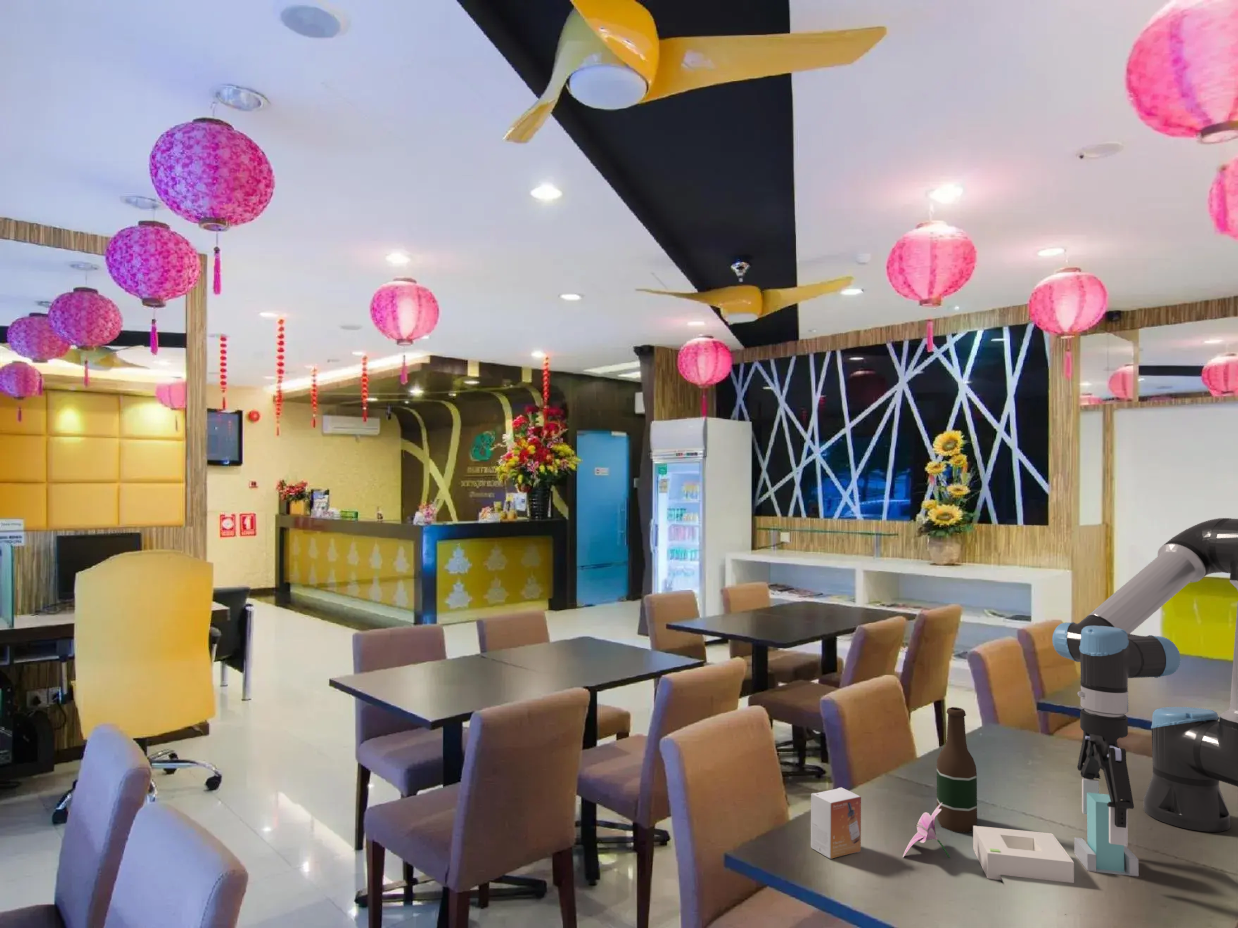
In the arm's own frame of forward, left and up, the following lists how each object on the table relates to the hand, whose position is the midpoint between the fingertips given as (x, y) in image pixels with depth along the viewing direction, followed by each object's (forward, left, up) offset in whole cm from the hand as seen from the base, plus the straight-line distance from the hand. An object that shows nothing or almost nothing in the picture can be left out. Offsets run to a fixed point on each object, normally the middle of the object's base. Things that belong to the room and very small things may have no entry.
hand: (1103, 828), depth 144 cm
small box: (+48, +4, -8) cm, 49 cm away
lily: (+31, +1, -8) cm, 32 cm away
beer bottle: (+23, -14, -8) cm, 28 cm away
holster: (0, 0, -8) cm, 8 cm away
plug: (0, 0, -7) cm, 7 cm away
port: (+15, +3, -8) cm, 17 cm away
